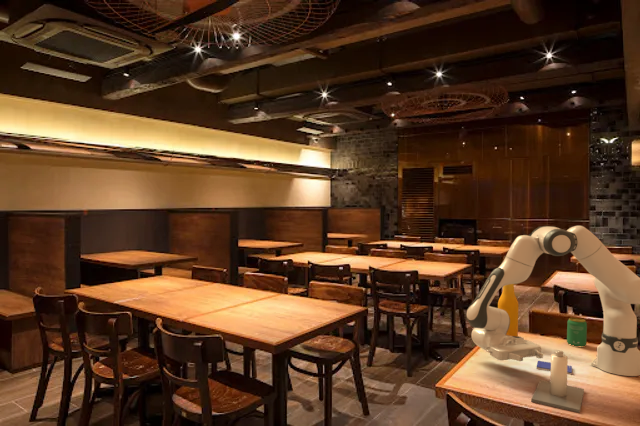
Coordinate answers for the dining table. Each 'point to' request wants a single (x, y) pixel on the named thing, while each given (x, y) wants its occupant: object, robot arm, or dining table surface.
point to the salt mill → (558, 374)
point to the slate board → (567, 402)
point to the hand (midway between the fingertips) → (531, 357)
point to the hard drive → (547, 366)
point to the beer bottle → (510, 308)
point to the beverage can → (576, 331)
